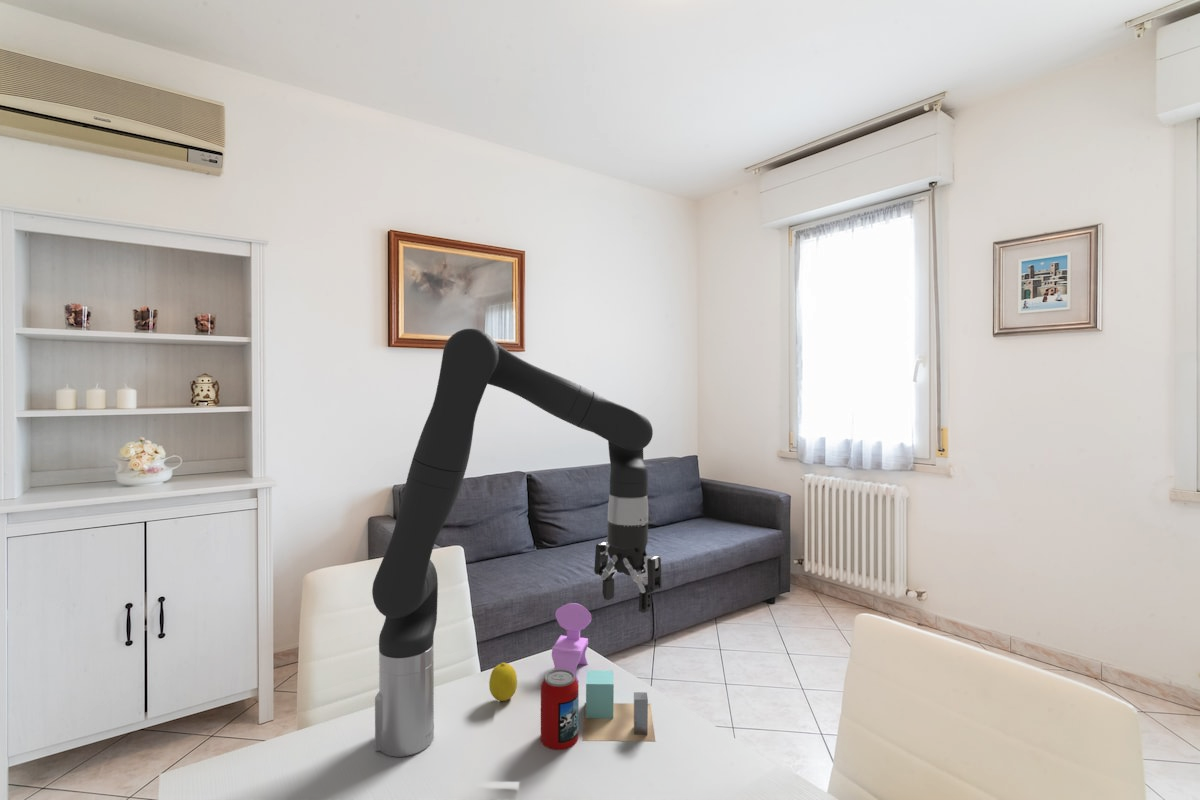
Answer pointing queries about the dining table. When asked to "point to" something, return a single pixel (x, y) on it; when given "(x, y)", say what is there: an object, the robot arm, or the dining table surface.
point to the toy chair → (571, 637)
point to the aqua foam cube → (599, 694)
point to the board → (616, 725)
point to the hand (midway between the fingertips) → (626, 605)
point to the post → (640, 713)
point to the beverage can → (559, 710)
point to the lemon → (503, 682)
